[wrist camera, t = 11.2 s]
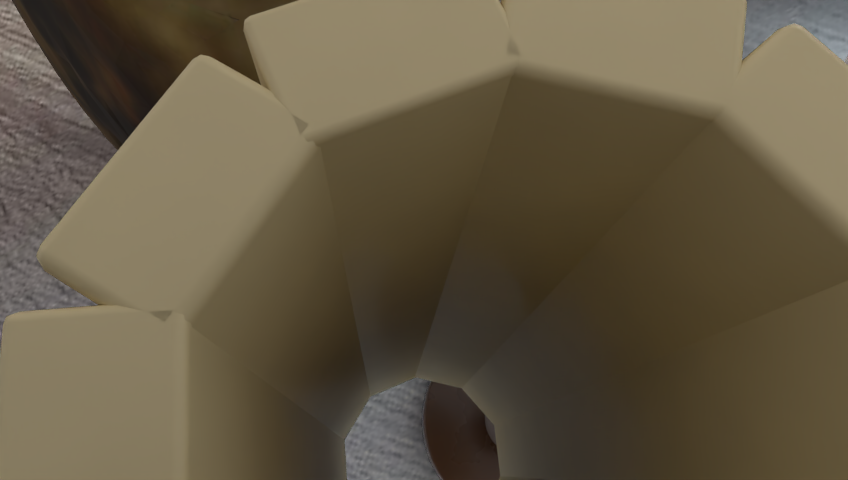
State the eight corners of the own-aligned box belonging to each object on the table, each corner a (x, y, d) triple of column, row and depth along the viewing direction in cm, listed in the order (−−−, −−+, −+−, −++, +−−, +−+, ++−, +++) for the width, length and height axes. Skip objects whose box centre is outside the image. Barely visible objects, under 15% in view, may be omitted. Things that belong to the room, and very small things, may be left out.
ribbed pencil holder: (516, 609, 14) (1210, 1345, 2) (277, 551, 14) (-278, 971, 2) (553, 372, 16) (1090, 64, 4) (337, 323, 16) (190, -134, 4)
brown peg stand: (587, 538, 21) (648, 559, 16) (403, 494, 21) (408, 501, 16) (613, 353, 23) (675, 322, 18) (442, 313, 23) (458, 272, 18)
